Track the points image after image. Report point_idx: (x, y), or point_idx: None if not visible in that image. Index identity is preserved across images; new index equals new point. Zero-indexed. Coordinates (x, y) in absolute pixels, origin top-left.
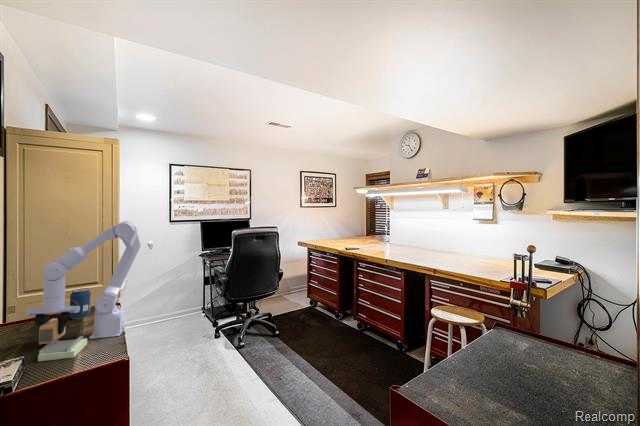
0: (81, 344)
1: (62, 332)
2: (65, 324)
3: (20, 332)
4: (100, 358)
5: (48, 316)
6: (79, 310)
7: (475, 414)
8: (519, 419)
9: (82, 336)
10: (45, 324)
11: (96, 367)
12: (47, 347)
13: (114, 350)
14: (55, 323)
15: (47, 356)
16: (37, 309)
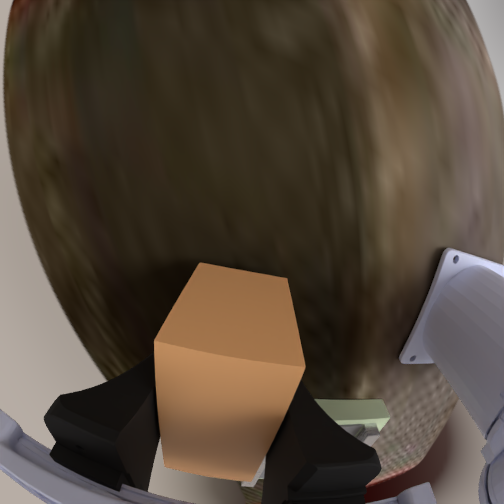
0: None
1: None
2: (305, 393)
3: (35, 80)
4: (385, 466)
5: (136, 431)
6: (427, 489)
7: None
8: None
9: (375, 438)
10: (180, 454)
11: (368, 485)
12: (258, 476)
13: (423, 440)
14: (247, 464)
15: None
16: (40, 496)
